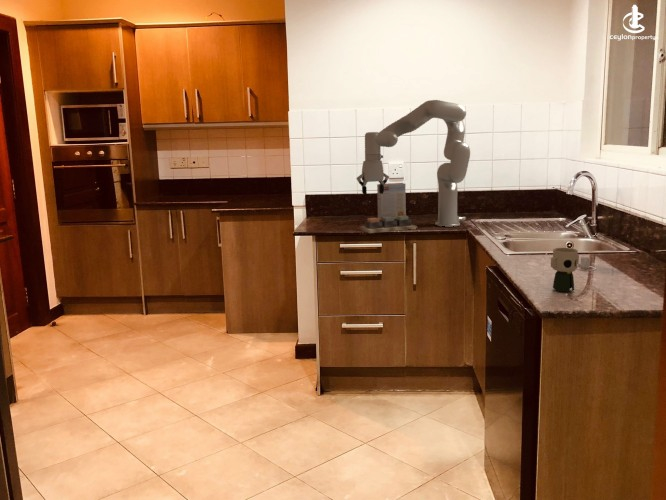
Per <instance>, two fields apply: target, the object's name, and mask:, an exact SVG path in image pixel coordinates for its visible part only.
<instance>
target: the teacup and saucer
mask: <svg viewBox="0 0 666 500" xmlns="http://www.w3.org/2000/svg"><path fill="white" fill-rule="evenodd" d="M590 263H591V257H587V256H583V257H580V260H579V262H578V264H577V269H576V270H579V271H582V270H583V271H591V272H592V271H596V270H597V267H595V266H593V265H590ZM578 267H581V269H580V268H578ZM589 268H592V269H589Z"/></svg>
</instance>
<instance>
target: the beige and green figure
mask: <svg viewBox="0 0 666 500" xmlns="http://www.w3.org/2000/svg"><path fill="white" fill-rule="evenodd" d="M578 252H579V251H578V249H576V248H572V247H556V248H553V250H552V257H550V268H552V270H554V271H556V272H555V274H554V278H553V284H552V289H553V290H556V291H559V292H564V293H565V292H570V290H571V291H575V281H574V278H575V277H574V273H573V272H575V271H576V270H577V269H578V267H577V265H578V262H579V261H580V259H579V257H580V255H579V253H578Z"/></svg>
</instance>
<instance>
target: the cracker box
mask: <svg viewBox="0 0 666 500" xmlns="http://www.w3.org/2000/svg"><path fill="white" fill-rule="evenodd" d="M379 185H380V183H377V184H376V186H377V187H376V188H377V189H376V190H377V191H376V192H377V218H378V219H379V221H380V220H382V217H394V219H397V216H402V215H405V216H407V213H406V212H407V211H406V210H407V208H406V207H407V205H406V203H407V201H406V183H405V182H395V183H394V182H393V183H390V182H389V183H388V182H387V183H385V185H384V192H383V194H381V193H379Z"/></svg>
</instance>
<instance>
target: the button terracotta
mask: <svg viewBox="0 0 666 500" xmlns="http://www.w3.org/2000/svg"><path fill="white" fill-rule="evenodd" d="M367 221H368V222H370V223H373V222H379V219H378V217H368V218H367Z"/></svg>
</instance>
